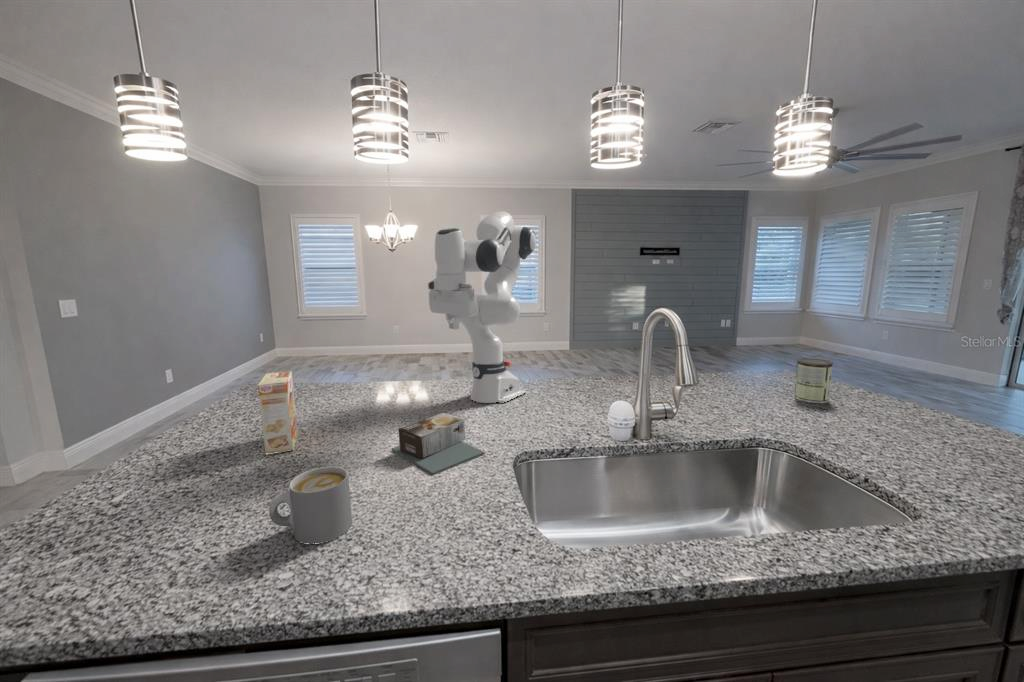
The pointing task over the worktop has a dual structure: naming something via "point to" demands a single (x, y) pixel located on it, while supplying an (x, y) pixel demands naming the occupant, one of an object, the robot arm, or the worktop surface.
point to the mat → (443, 457)
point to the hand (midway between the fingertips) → (454, 329)
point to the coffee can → (813, 380)
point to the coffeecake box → (278, 412)
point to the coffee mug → (316, 505)
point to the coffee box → (431, 435)
